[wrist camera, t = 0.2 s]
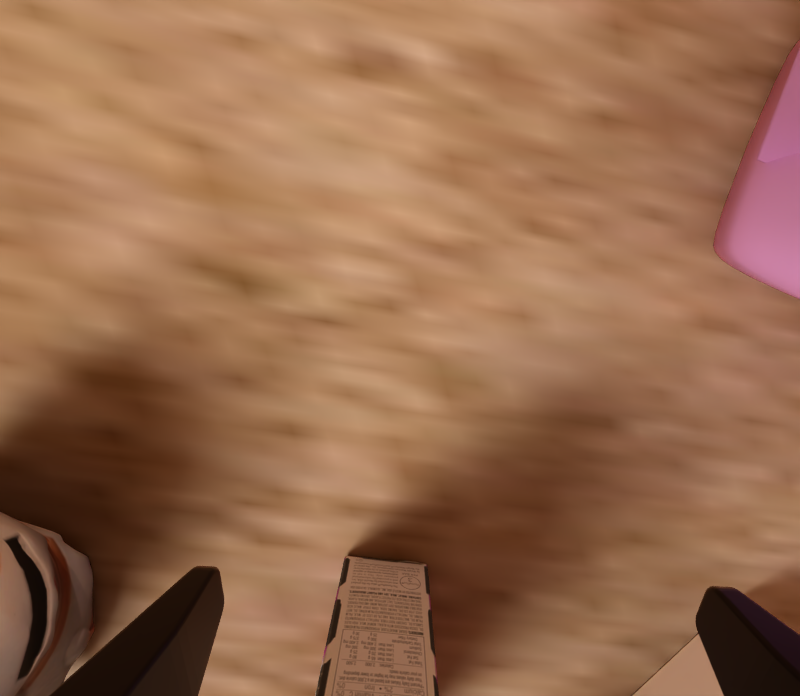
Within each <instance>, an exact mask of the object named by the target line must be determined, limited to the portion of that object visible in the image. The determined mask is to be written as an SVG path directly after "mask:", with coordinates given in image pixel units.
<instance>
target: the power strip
mask: <svg viewBox="0 0 800 696" xmlns="http://www.w3.org/2000/svg"><path fill="white" fill-rule="evenodd" d="M632 696H723V693H722V691H721V688H720V686H719V683H718V681H717V678H716V676H715V673H714V671H713V668H712V666H711V663H710V661H709V659H708V656H707V654H706V651H705V649H704V646H703V644H702V641H701V639H700V636H699V634H698V635H696V636H695V637H694V638H693V639H692V640H691V641H690V642H689V643H688V644H687V645H686V646H685V647H684V648H683V649H682V650H680V651H679V652H678V653H677V654H676V655H675V656H674V657H673V658H672V659H671V660H670V661H669V662H668V663H667V664H666V665H664V666H663V667H662V668H661V669H660V670H659V671H658V672H657V673H656V674H655V675H654V676H653V677H652V678H651V679H650V680H648V681H647V682H646V683H645V684H644V685H643V686H642V687H641V688H640V689H639V690H638V691H637V692H636V693H635V694H633V695H632Z"/></svg>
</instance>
